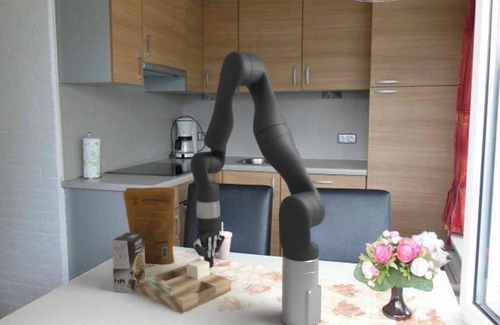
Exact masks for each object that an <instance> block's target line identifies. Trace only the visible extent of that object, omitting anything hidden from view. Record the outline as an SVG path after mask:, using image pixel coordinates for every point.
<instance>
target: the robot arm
mask: <svg viewBox="0 0 500 325" xmlns="http://www.w3.org/2000/svg"><path fill="white" fill-rule="evenodd" d="M239 87H246V88H247V90H248V91H249V94H250V97H251V99H252V101H253V104H254V113H253V119H252V120H253V121H252V131H253V136H254V139H255V141H256V143H257V146H258V148H259V150H260V153H261V155H262V156H263V158H264V160H266V162H267V163H268V164H269V165H270V166H271V167H272V168H273V169H274V171H276V172H277V173H278V174H279V175H280V176H281V178H282V179H283V181H284V182H285V184H286V186H287V189H288V191H289V193H290V195H287V196H286V197H284V198H283V199H282V200H281V202H280V205H279V208H278V234H279V235H278V239H279V244H280V247H281V250H282V265H281V266H282V269H281V271H282V272H281V277H282V278H281V321H282V323H284V324H285V325H317V324H318V323H320V322H321V318H322V285H321V284H319V266H320V264H319V262H320V261H319V260H320V247H319V245H318V244H317V242H313V241H312V240H311V237H312V236H311V228H315V227H317V226H319V225H320V224H322V223H323V221H324V220H325V218H326V207H325V203H324V200H323V198H322V196H321V194H320V192H319V191H318V189H317V187H316V186H315V184H314V182H313V180H312V178H311V176H310V174H309V172H308V170H307V169H306V166H305V163H304V162H303V160H302V157H301V155H300V153H299V151H298V148H297V146H296V143H295V141H294V138H293V135H292V134H291V131H290V129H289V125H288V124H287V122H286V120H285V118H284V115H283V113H282V110H281V108H280V105H279V102H278V101H277V98H276V96H275V93H274V89H273V87H272V83H271V81H270V77H269V72H268V71H267V67H266V65H265V62H264V61H263V59H262V58H261V57H260V56H259V55H258V54H256V53H253V52H245V51H238V50H233V51H230V52H229V53H228V54H227V55H226V56H225V58H224V59H223V62H222V65H221V68H220V73H219V78H218V83H217V90H216V94H215V95H216V96H215V100H214V101H215V102H214V106H213V107H214V108H213V112H212V115H211V119H210V121H209V124H208V127H207V130H206V132H205V135H204V138H203V142H204V145H205V146H206V147H207V148H209V149H210V151H199V152H195V153H194V154H193V155H192V157H191V160H190V163H189V164H190V165H189V166H190V169H191V170H190V171H191V173H192V177H193V180H194V181H193V182H194V184H195V188H196V205H195V208H196V209H195V210H196V211H195V217H196V220H195V221H196V224H195V225H196V230H197V236H196V240H195V241H194V242H192V243H191V245H190V246H192V248H193V250H194V251H195V252H196V253H197V255H198V256H200V257H203V260H204V261H207V262H209V268H210V269H212V268H213V267H214V257H215V254H218V252H219V249H220V247H221V245H222V243H223V241H224V239H225V236H223V235H221V234H220V230H221V205H220V204H221V203H220V186H219V183H218V182H216V181H214V180H210V179H209V176H208V175H211V174H217V173H219V172H221V171H222V170H223V168H224V166H225V163H226V154H227V145H228V142H229V140H230V136H231V135H232V132H233V129H234V124H235V122H234V121H235V120H234V119H235V117H234V111H233V100H234V96H235V95H236V91H237V90H238V88H239Z"/></svg>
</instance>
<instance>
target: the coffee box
mask: <svg viewBox="0 0 500 325" xmlns="http://www.w3.org/2000/svg"><path fill="white" fill-rule="evenodd" d="M112 272H113V273H112V276H113V292H118V293H128V294H133V293H134V292H135V291H136V290H138V289H139V281H142V280H145V279H146V263H145V241H144V233H130V232H125V233H123V234H121V235H119V236H117V237H116V238H114V239H112Z"/></svg>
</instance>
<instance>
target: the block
mask: <svg viewBox="0 0 500 325" xmlns="http://www.w3.org/2000/svg"><path fill="white" fill-rule="evenodd" d="M185 265H186V266H187V276H189V277H192V278H195V279H197V280H198V279H201V278H203V277H205V276H207V275H210V273H211V271H210V269H211V268H209V262H207V261H204V259H200V258H197V259H194V260H191V261H189V262H187V263H186V264H185Z"/></svg>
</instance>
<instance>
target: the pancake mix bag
mask: <svg viewBox="0 0 500 325" xmlns="http://www.w3.org/2000/svg"><path fill="white" fill-rule="evenodd" d="M176 193H177V189H175V188H173V187H126V189H125V190H122V198H123V202H124V208H125V216H126V219H127V225H128V229H129V230H128V231H129V233H144V241H145V264H150V265H151V264H153V265H154V264H155V265H170V264H172V263H176V262H175V256H174V232H175V230H174V228H175V221H176V220H175V218H176V212H175V211H176Z"/></svg>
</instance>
